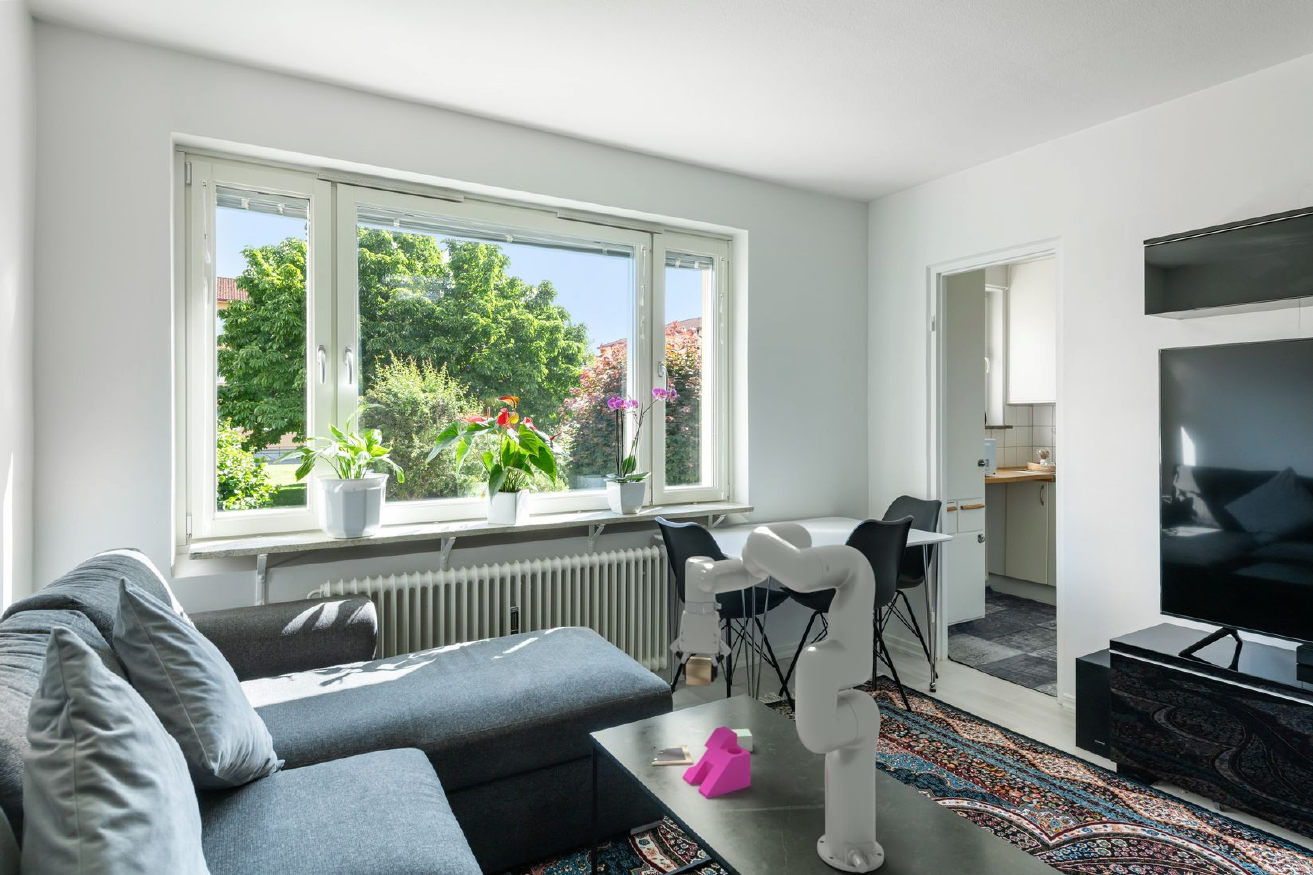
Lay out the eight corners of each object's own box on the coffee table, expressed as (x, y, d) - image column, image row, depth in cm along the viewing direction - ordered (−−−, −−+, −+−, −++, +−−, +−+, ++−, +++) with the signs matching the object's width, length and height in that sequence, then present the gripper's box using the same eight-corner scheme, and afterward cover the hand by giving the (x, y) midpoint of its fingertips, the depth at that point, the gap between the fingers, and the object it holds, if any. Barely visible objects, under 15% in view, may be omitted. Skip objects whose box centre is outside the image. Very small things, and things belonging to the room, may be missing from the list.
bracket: (724, 768, 174) (724, 726, 174) (750, 786, 165) (750, 741, 165) (682, 780, 168) (682, 736, 169) (706, 799, 160) (706, 752, 160)
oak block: (714, 678, 181) (714, 658, 181) (710, 686, 175) (710, 665, 175) (690, 676, 183) (690, 656, 183) (686, 684, 177) (686, 663, 177)
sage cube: (752, 753, 183) (752, 735, 183) (735, 754, 182) (735, 736, 182) (748, 745, 187) (748, 728, 187) (731, 746, 187) (731, 729, 187)
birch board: (692, 766, 175) (692, 761, 175) (652, 768, 174) (652, 763, 174) (686, 748, 185) (686, 744, 185) (648, 750, 184) (648, 746, 184)
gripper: (736, 605, 180) (736, 677, 180) (669, 601, 185) (669, 671, 185) (732, 612, 173) (732, 687, 173) (663, 608, 177) (662, 681, 177)
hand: (700, 678), depth 179 cm, fingers closed on oak block, 6 cm apart
